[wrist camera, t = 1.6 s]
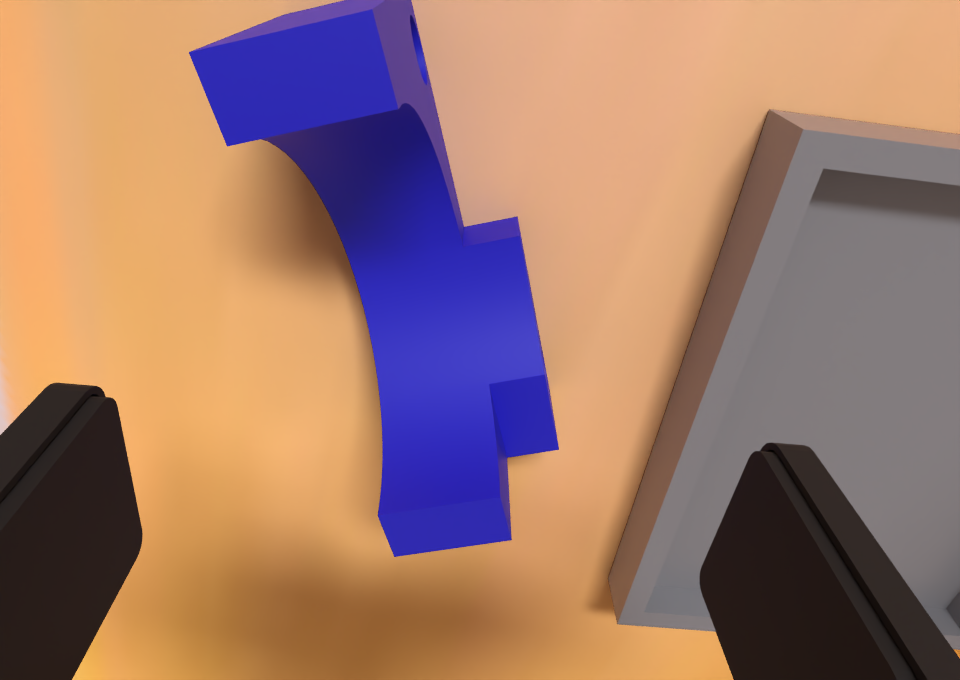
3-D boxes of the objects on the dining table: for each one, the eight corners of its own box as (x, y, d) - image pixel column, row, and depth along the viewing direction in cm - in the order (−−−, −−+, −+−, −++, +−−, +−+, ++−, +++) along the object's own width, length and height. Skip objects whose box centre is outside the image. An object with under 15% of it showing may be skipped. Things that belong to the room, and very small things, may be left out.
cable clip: (549, 387, 21) (571, 530, 16) (414, 410, 22) (394, 556, 16) (471, -31, 15) (468, -14, 10) (285, 14, 15) (188, 52, 10)
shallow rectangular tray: (1276, 176, 17) (1363, 202, 16) (942, 605, 27) (974, 650, 25) (769, 109, 16) (803, 128, 15) (607, 578, 26) (617, 624, 24)
